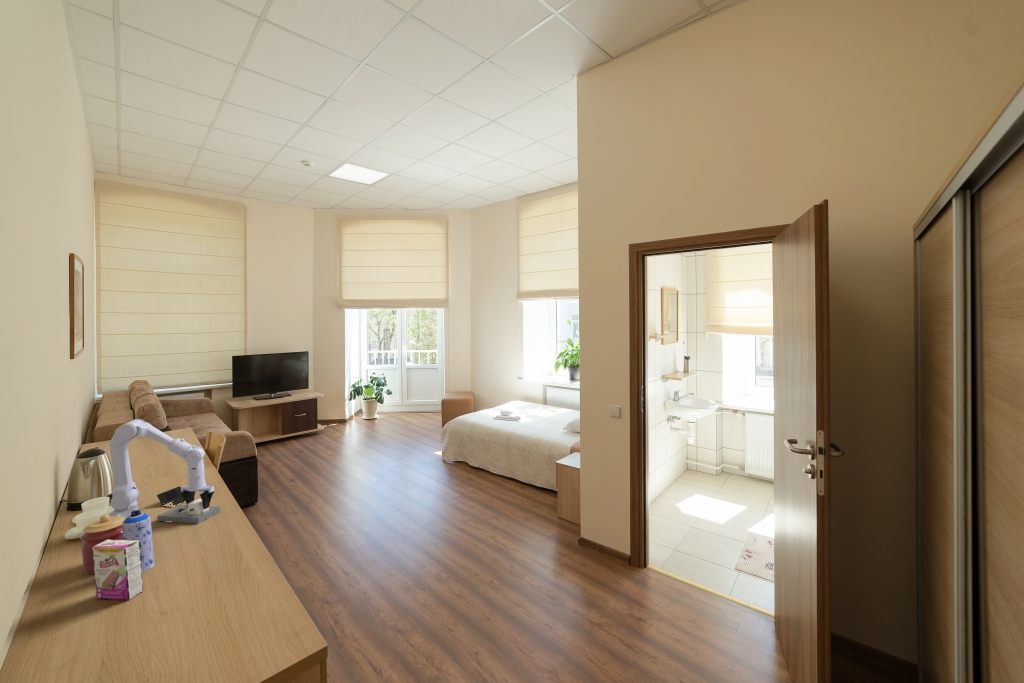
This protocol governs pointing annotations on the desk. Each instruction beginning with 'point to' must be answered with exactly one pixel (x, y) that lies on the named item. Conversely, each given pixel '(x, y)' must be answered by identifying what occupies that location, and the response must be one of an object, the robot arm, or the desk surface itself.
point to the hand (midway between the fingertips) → (198, 507)
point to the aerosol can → (140, 536)
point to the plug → (196, 507)
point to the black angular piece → (171, 496)
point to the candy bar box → (117, 569)
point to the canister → (99, 537)
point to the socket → (186, 515)
